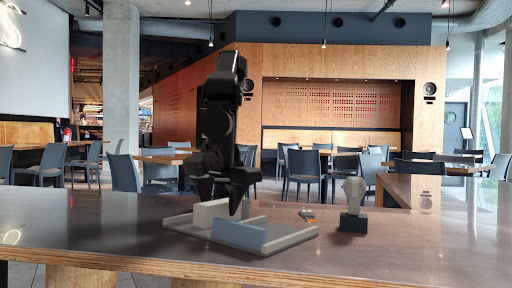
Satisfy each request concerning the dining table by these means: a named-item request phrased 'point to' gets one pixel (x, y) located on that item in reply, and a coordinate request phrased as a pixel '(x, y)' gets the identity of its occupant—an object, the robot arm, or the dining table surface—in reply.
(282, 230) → the grey rimmed tray
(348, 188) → the bust statue
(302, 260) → the dining table surface
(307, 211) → the key chain
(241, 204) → the cream rectangular block
